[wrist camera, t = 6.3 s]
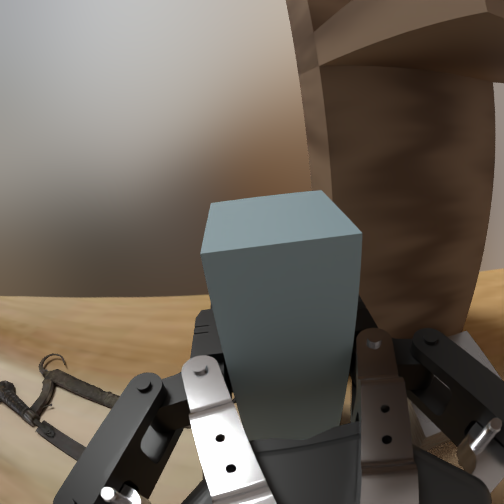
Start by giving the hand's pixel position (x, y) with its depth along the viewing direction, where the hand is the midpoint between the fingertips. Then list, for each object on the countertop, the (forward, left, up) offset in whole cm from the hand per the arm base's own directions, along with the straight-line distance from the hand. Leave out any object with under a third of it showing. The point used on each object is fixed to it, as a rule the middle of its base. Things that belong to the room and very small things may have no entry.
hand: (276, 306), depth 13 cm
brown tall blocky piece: (+8, -1, -7) cm, 11 cm away
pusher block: (0, -2, -7) cm, 7 cm away
